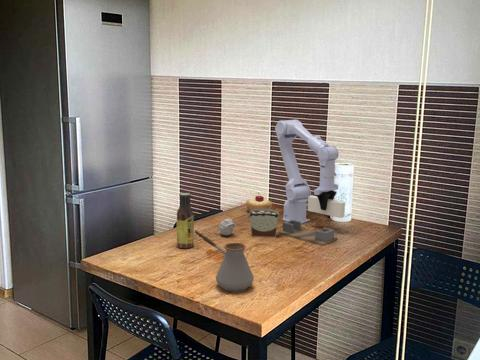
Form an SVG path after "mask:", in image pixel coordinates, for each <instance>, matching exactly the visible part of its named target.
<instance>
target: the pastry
mask: <svg viewBox="0 0 480 360" xmlns="http://www.w3.org/2000/svg"><path fill="white" fill-rule="evenodd" d="M257 193H258V195H256V196H255V197H254V198H249V199H247V200H246V201H245V206H246V210H247V211H248V212H249V213H250V211H252V210H255V209H272V208H273V203H272V201H271V200H269V199H267V198H265V197H264V196H263V195H260V192H257Z"/></svg>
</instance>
